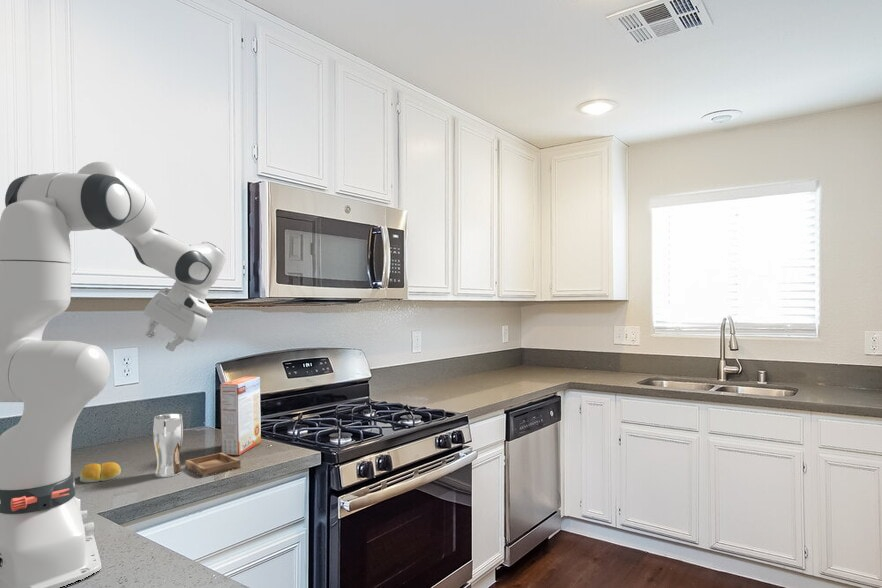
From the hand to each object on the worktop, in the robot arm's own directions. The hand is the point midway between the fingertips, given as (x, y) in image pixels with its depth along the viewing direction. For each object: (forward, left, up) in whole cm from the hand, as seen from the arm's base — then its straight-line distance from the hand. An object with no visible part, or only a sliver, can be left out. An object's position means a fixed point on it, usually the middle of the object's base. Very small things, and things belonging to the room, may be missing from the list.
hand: (158, 343), depth 151 cm
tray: (-11, -9, -34) cm, 37 cm away
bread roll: (+3, +14, -34) cm, 37 cm away
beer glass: (-7, +1, -34) cm, 35 cm away
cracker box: (0, -23, -34) cm, 41 cm away
